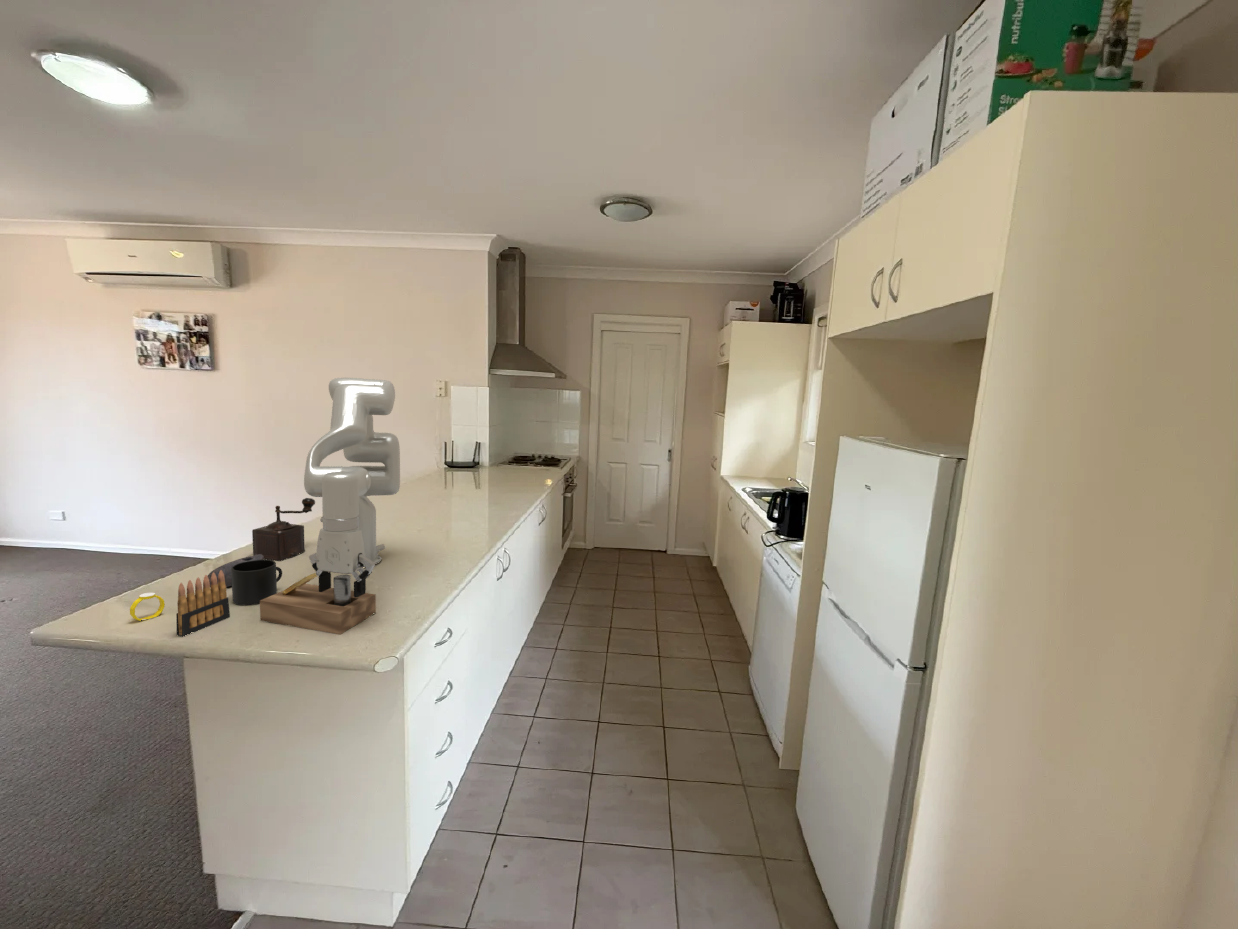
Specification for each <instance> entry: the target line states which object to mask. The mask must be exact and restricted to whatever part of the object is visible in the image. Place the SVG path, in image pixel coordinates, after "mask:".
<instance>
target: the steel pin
mask: <svg viewBox="0 0 1238 929" xmlns="http://www.w3.org/2000/svg"><path fill="white" fill-rule="evenodd" d="M351 583H352V582H351V575H350V574H338V575H335V576H334V577H333V588H334V605H337V606H346V605H348V604H349V603H351V591H352V588H351V587H352V585H351Z"/></svg>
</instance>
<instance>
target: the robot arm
mask: <svg viewBox="0 0 1238 929" xmlns="http://www.w3.org/2000/svg"><path fill="white" fill-rule="evenodd" d="M328 393H329V396H330V398H331V399H332V407H331V408H332V410H331V416H330V417H331V419H330V429H329V431H328V432H326V433H325V434H324V435H322V436H321V437H320V438H318V439H317V441H316V442H315V443H314V444H313V445H312V446H311V448H310V449H309V452H308V454H307V456H306V461H305V467H304V468H305V469H304V475H303V488H304V490H305V492H306V494H307V495H309V496H311V497H315V498H321V499H322V500H321V502H322V504H321V506H322V507H321V508H322V517H321V518H320V523H322V528H320V529H319V533H318V537H317V544H316V552H315V553H312V554H310V555H309V556H308V558H309V560H310V563H311V566H312V568H313V570H314V571H315V573H316V575H317V577H318V586H319V592H323V591H325V590H327V589H329V588H332V574H331V573H334V574H335V573H336V574H340V575H350V574H351V575H352V576H353V578H354V579H355V581H353V591H354V597H356V598H357V597H359V596H361V595H363V594H365V593H367V592H366V590H367V587H366V585H367V583H366V582H367V581H366V579H368V578H369V577H370V575H371V574H372V573H373V570H374V569H375V566H376V565H375V564H377V563H378V562H380V561H381V559H382V556H381V555H380V554H378V553H379V552H380V551H383V550H384V549H385V548H386V546H385V544H384V543H381V544H378V545H377V509H376V507H375V504H374V503H373V501H371V499H370V498H368V497H373V496H376V497H377V496H394V495H396V494H397V493H398V492H399V491H400V489H401V488H400V487H401V448H400V442H399V438H398V437H397V435H395V434H394V433H391V432H378V431H377V432H375V431H374V417H373V416H388V415H390V414H391V413H392V411H393V408H394V405H395V401H396V400H395V399H396V389H395V386H394V384H393V383H392V382H391V381H390V380H386V379H374V378H362V377H361V378H360V377H359V378H358V377H337V378H333V379H331V380H330V381H329V382H328ZM341 450H342V451H343V456H344V458H345V459H346V461H348V462H352V463H369V464H370V463H371V464H372V463H375V464H376V463H377V464H378V463H379V464H380V463H381V464H383V465H350V466H342V465H341V466H340V465H338V466H332V465H331V466H328V465H327V466H324V465H323V466H321V464H322V462H323V461H324V459H326V458H327V457H328V456H330V455H333V454H334V453H336V452H339V451H341ZM382 560H383V559H382ZM381 562H382V561H381ZM381 562H380V563H381ZM377 565H378V564H377ZM363 567H366V568H363Z"/></svg>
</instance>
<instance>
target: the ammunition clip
mask: <svg viewBox="0 0 1238 929" xmlns="http://www.w3.org/2000/svg"><path fill="white" fill-rule="evenodd" d="M194 584H195V585H194ZM194 584H193V582H192V580H190V579H189V580H188V581H187V585H186V589H185V585H184V584H183V583H182V582H180V584H179V585H178V591H177V594H178V596H177V604H176V605H177V612H176V636H177V635H178V636H177V637H181V636H182V637H183V636H184V637H186V636H185V635H187V634H189V635H191V634H192V633H191V632H194V633H197V632H199V631H200V630H203V629H206V628H207V627H210V626H212V625H215V624H218V623H220V622H221V621H225V620H227V619H229V618H230V617H231V613H230V602H229V601H230V600H229V597H228V596H227V587H226V585H225V578H224V574H223V571H222V570H220V572H219V576H218V584H217V577H216V574H215V573H214V572H213V573H212V576H211V588H210V582H209V578H208V575H207V574H205V575H204V577H203V583H202V580H201V579H200V578H199V577H196V579H195V583H194ZM194 587H195V588H194ZM205 627H206V628H205ZM198 630H199V631H198ZM190 633H191V634H190ZM187 636H188V635H187ZM182 637H181V638H182ZM184 637H183V638H184Z"/></svg>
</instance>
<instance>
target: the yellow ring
mask: <svg viewBox="0 0 1238 929" xmlns="http://www.w3.org/2000/svg"><path fill="white" fill-rule="evenodd" d="M154 598H156V599H157V600H159V606H158V609H157V610H156V611H155V612H154V613H153V614H151V615H147V616H145V617H141V618H140V617H137V615H136V608H137V607H138V604H139V603H141V602H142V601H144V600H150V599H154ZM165 605H166V604H165V600H164V598H162V597H161V596H159V595H157V594H156V593H155V592H145V593H141V594H140V595H138V598H137V599H134V601H133V602H132V604H131V606H129V607H130V608H129V615H130V616H131V618H132V619H133V620H135V621H139V622H142V621H141V620H142V619H148V620H150V618H151V619H154V617H155V618H157V616H158V617H159V616H160V615H161V614H162V613H163V612H164V609H165Z"/></svg>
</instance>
